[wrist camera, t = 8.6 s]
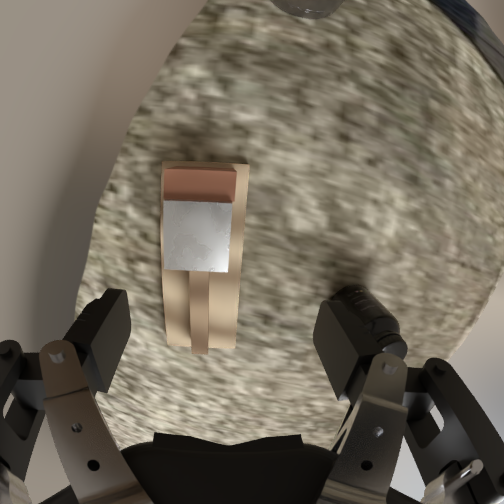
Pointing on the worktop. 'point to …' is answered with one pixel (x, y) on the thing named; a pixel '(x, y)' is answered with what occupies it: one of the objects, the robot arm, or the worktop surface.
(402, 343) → the supplement bottle
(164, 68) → the worktop surface
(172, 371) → the worktop surface
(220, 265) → the block
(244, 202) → the rail
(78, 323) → the robot arm
